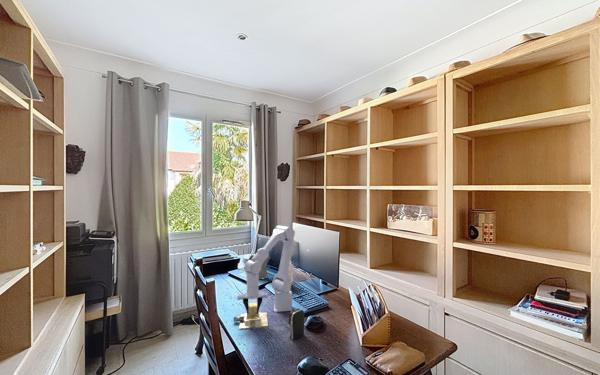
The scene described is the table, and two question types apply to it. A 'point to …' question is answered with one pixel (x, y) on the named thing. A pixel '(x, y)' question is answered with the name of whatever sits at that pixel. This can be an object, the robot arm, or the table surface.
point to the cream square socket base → (252, 321)
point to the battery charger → (296, 323)
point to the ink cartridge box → (291, 273)
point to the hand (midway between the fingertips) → (252, 313)
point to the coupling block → (252, 311)
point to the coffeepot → (263, 268)
